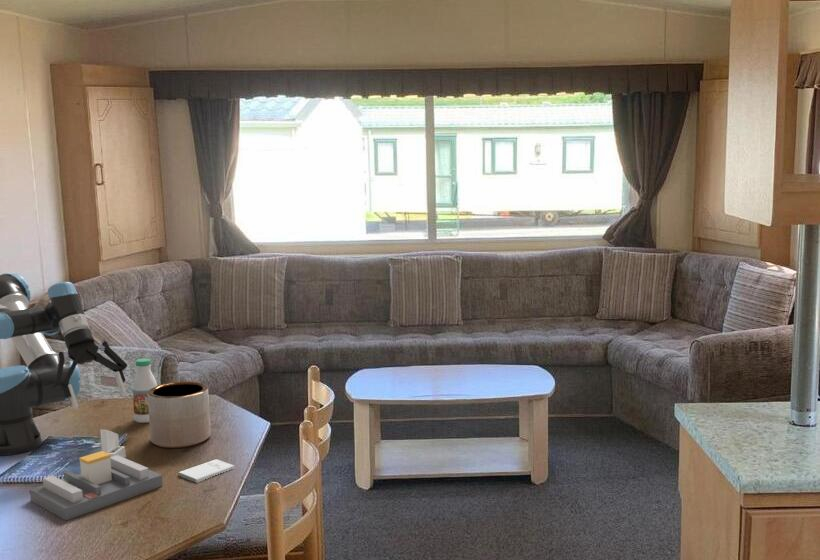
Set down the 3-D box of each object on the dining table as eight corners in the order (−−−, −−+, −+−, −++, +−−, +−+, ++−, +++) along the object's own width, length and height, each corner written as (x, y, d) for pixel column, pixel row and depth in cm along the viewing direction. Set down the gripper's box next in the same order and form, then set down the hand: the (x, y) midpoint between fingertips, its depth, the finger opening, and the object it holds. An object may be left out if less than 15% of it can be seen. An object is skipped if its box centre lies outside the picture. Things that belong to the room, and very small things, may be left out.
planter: (215, 444, 245) (212, 393, 243) (153, 453, 239) (149, 400, 237) (206, 426, 262) (204, 378, 259) (148, 434, 255) (144, 385, 253)
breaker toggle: (81, 483, 210) (79, 457, 209) (103, 476, 214) (102, 450, 213) (89, 487, 207) (87, 461, 206) (112, 479, 212) (110, 454, 211)
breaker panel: (30, 500, 207) (28, 480, 206) (125, 469, 227) (123, 450, 226) (66, 520, 196) (64, 498, 195) (162, 486, 215) (161, 466, 214)
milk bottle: (134, 417, 272) (130, 358, 269) (159, 414, 274) (155, 356, 271) (134, 424, 265) (130, 363, 262) (159, 421, 267) (155, 361, 264)
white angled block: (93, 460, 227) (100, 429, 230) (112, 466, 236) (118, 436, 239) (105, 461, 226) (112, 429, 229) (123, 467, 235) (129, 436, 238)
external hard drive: (178, 477, 222) (215, 463, 231) (196, 485, 217) (234, 470, 226) (177, 471, 222) (215, 458, 231) (196, 479, 217) (234, 465, 226)
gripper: (33, 338, 228) (57, 409, 223) (122, 318, 243) (146, 383, 238) (29, 348, 234) (52, 417, 229) (116, 327, 249) (139, 392, 244)
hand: (100, 400), depth 234 cm, fingers open, 13 cm apart
